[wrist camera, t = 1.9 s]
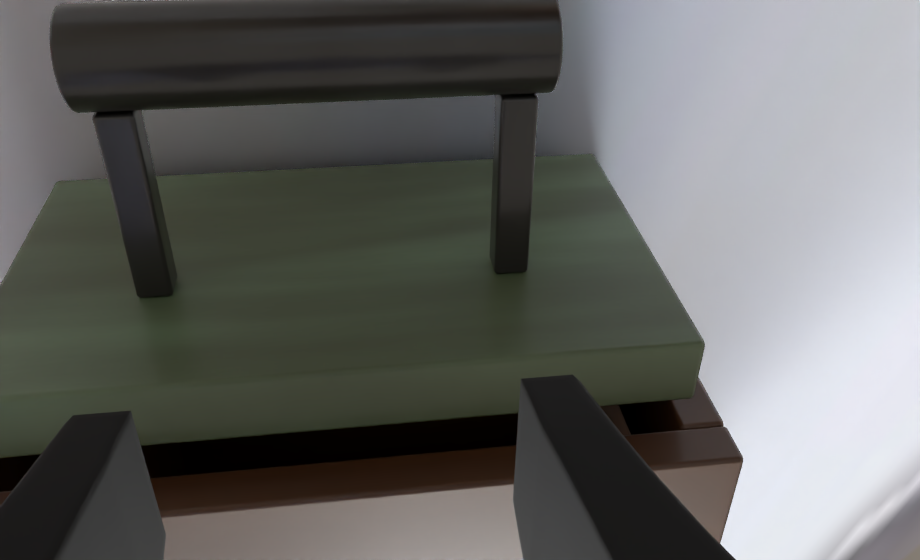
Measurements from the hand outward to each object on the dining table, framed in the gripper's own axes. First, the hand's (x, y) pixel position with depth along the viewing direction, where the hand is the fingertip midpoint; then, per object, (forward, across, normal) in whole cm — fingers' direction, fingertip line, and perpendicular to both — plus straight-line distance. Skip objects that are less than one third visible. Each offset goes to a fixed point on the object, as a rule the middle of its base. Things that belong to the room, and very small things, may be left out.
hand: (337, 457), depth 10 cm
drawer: (+10, 0, +5) cm, 11 cm away
